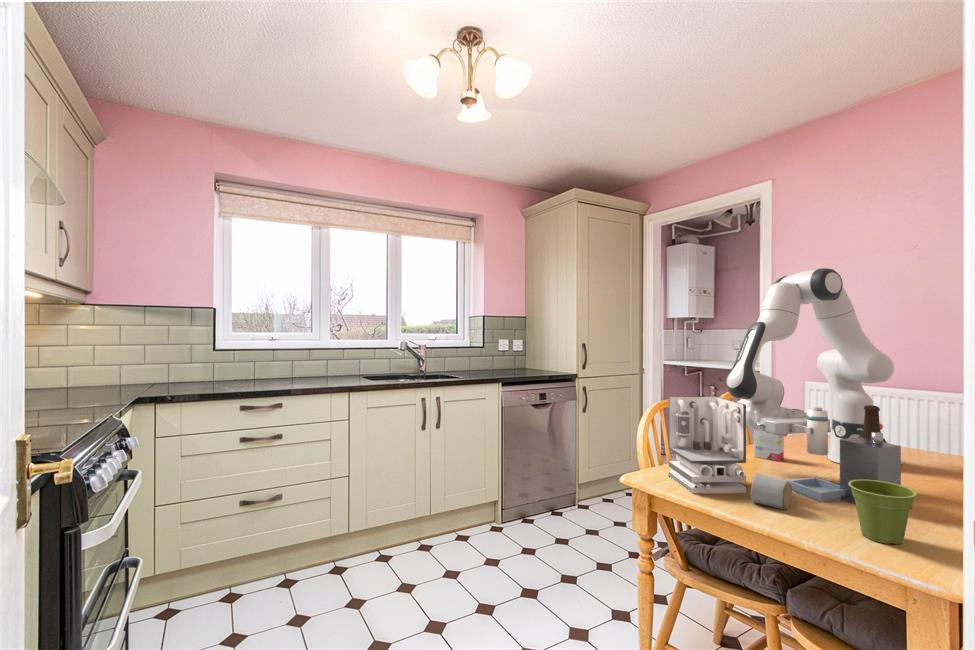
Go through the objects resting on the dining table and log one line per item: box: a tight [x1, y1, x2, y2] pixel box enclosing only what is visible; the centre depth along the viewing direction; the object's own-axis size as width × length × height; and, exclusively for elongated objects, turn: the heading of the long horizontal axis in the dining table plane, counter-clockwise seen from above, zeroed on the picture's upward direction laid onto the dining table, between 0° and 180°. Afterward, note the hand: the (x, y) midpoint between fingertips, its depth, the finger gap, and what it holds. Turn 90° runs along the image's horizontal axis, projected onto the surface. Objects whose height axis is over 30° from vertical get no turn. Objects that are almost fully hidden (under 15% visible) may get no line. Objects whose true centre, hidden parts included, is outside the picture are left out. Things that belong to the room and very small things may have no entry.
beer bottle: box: [858, 404, 888, 443], centre depth 140 cm, size 8×8×24 cm
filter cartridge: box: [806, 406, 829, 456], centre depth 136 cm, size 5×5×13 cm
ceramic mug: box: [750, 472, 793, 510], centre depth 128 cm, size 11×8×8 cm
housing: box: [839, 432, 912, 510], centre depth 129 cm, size 11×13×19 cm
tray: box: [785, 476, 845, 503], centre depth 136 cm, size 11×11×2 cm
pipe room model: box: [668, 396, 747, 494], centre depth 142 cm, size 16×19×25 cm
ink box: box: [753, 429, 785, 462], centre depth 172 cm, size 9×5×12 cm, turn 42°
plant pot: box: [848, 480, 918, 545], centre depth 107 cm, size 12×12×11 cm
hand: (820, 430), depth 135 cm, fingers closed on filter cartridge, 5 cm apart
